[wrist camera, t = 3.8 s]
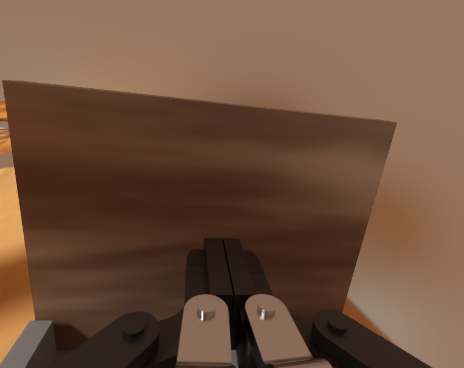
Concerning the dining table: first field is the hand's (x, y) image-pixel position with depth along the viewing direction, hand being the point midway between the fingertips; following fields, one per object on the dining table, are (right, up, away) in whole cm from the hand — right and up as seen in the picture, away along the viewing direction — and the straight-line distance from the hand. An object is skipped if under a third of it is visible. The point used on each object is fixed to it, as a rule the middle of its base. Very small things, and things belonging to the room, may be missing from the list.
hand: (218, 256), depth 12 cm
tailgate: (-2, -7, +8) cm, 11 cm away
